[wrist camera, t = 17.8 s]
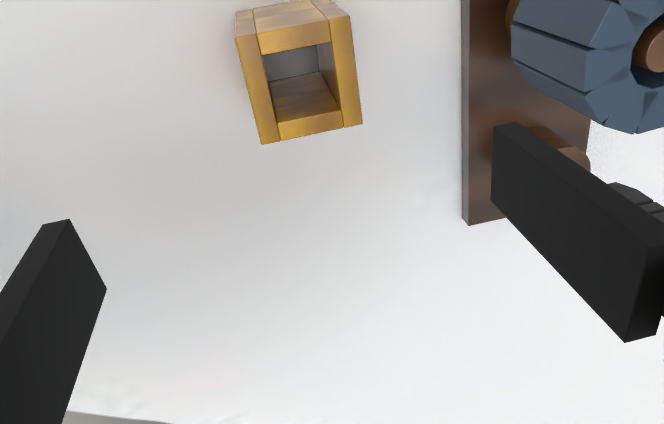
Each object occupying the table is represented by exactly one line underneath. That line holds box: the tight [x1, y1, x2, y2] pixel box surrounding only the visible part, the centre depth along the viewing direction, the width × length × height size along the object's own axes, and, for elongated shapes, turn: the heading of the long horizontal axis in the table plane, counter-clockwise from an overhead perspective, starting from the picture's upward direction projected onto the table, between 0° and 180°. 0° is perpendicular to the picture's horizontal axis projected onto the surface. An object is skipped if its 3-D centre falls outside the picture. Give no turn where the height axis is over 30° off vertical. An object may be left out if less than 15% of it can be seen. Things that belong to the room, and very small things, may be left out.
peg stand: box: [461, 0, 664, 226], centre depth 34 cm, size 24×11×14 cm, turn 9°
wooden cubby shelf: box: [235, 0, 363, 145], centre depth 31 cm, size 6×6×9 cm
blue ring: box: [511, 0, 664, 134], centre depth 28 cm, size 9×9×8 cm
